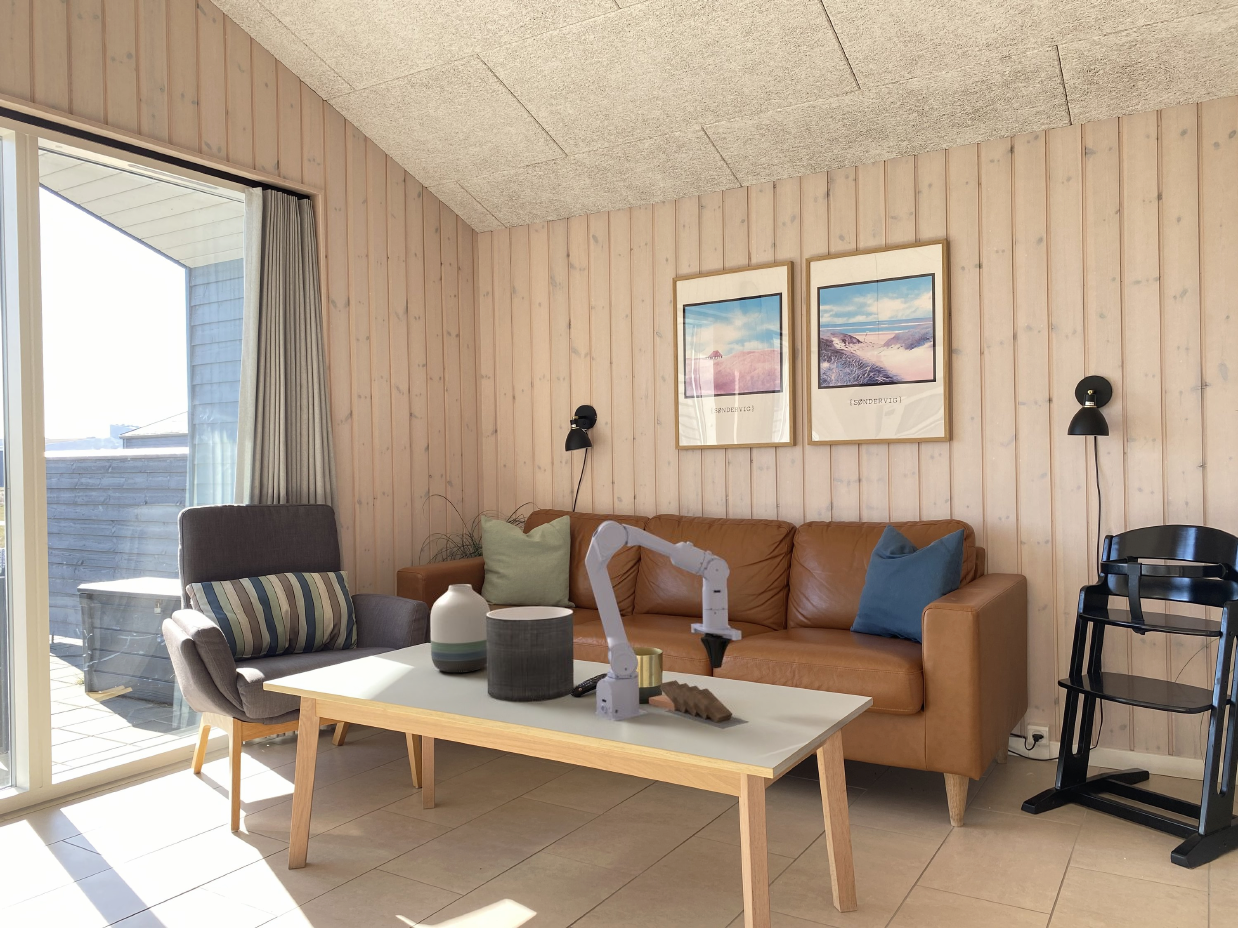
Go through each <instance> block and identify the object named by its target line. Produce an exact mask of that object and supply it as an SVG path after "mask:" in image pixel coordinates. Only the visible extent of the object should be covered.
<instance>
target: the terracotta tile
mask: <svg viewBox="0 0 1238 928" xmlns="http://www.w3.org/2000/svg"><path fill="white" fill-rule="evenodd" d="M648 703H649V705H653V706H655V707H659V708H662V709H666V710H674V711H675V710H679V708H678V707H677V706H676V705H675V704H674V703H673V702H672V701H671V700H670V699H669V698H668V697H667V696H666V695H665V694H662V695H661V694H660V695H656V696H652V697H649V698H648Z"/></svg>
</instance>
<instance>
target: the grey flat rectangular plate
mask: <svg viewBox="0 0 1238 928" xmlns="http://www.w3.org/2000/svg"><path fill="white" fill-rule="evenodd" d="M664 712H666V713H668V714H672V715H676V716H679V717H683V718H686V719H689V720H692V721H696V722H698V723H702V724H706V725H709V726H711V727H712V726H713V727H716V728H719V729H721V730H722V729H727V728H728V729H729V728H731V727H735V726H738V725H742V724H747V723H749V722H750V720H749V721H748V720H744V719H741V718H737V717H733V716H731V719H730V720H726V721H722V722H718V723H715V722H714V721H713V720H712V719H711V718H710V719H706V720H704V719H703V718H702V716H701V715H699V716H695V717H694V716H693V715H692V714H691V713H690V712H687V713H683V712H682V711H681V710H680V709H679V710H675V711H674V710H669V709H666V710H664Z"/></svg>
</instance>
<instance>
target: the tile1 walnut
mask: <svg viewBox="0 0 1238 928" xmlns="http://www.w3.org/2000/svg"><path fill="white" fill-rule="evenodd" d="M691 698H692V699H693V700H694V701H695V702H696V703H697V704H698V705H699V706H700V707H701V708H702V709H703V710H704V711H705V712H706V714H707V715H708V716H709V717H710V718H711V719H712V720H713V721H714V722H715V723H718V722H722V721H726V720H730V719H731V717H733V712H732V711H731V710H729V708H728V707H726V705H724V704H723V702H721V700H719V699H718V698H717V696H715V694H713V693H712V692H711V691H710V690H709V689H708V688H703V689H700V690H697V691H693V692H692V695H691Z"/></svg>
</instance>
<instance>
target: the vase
mask: <svg viewBox="0 0 1238 928" xmlns="http://www.w3.org/2000/svg"><path fill="white" fill-rule="evenodd" d="M488 612H491V610H490V606H489V604H488V602H487V600H486V599H485V598H484V597H483V596H482V595H480V594H479V593H477V592H476V591H474V590H473V586H472V584H467V583H466V584H464V583H462V584H460V583H459V584H450V585H449V586H448V590H447V591H445V593H443V594H442V595H441V596H440V597H439V598H438V599H436V601H435V602H434V603H433V606H432V607H431V611H430V655H431V660H432V663H433V666H434V667H435V668H436V669H438V670H439V671H442V672H447V673H468V672H473V671H477V670H478V671H479V670H480V669H484V667H486V666H487V640H486V614H487V613H488Z"/></svg>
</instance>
